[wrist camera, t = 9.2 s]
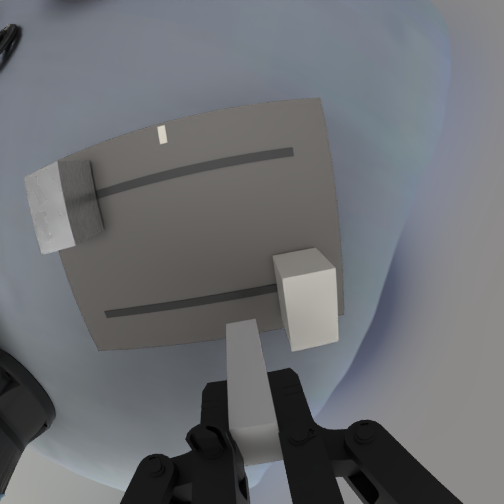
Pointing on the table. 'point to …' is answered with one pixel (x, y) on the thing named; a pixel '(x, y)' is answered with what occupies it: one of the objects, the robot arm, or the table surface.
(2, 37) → the milk frother
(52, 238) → the fader
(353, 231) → the table surface
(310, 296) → the fader
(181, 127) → the slider panel
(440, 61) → the table surface
